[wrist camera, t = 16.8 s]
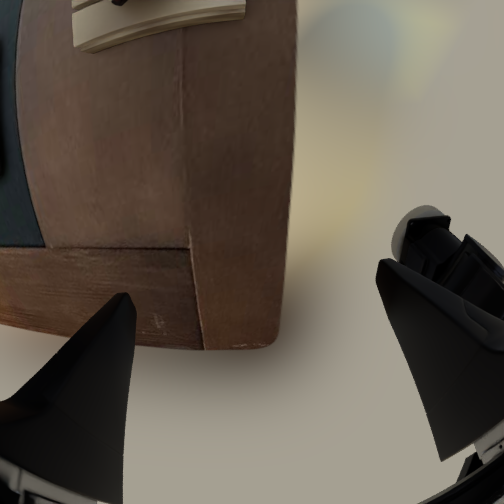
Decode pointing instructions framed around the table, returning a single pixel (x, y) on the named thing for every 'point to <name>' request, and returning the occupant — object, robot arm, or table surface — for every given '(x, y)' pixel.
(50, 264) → the table surface
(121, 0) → the mate gourd
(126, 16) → the rack
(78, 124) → the table surface
